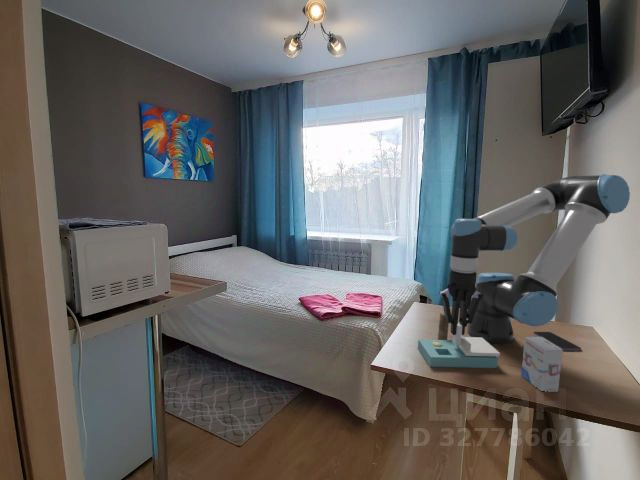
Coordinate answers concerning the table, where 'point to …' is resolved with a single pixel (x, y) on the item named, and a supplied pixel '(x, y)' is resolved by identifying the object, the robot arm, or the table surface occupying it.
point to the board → (452, 355)
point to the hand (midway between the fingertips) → (456, 344)
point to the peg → (443, 328)
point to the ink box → (542, 363)
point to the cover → (477, 347)
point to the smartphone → (558, 341)
